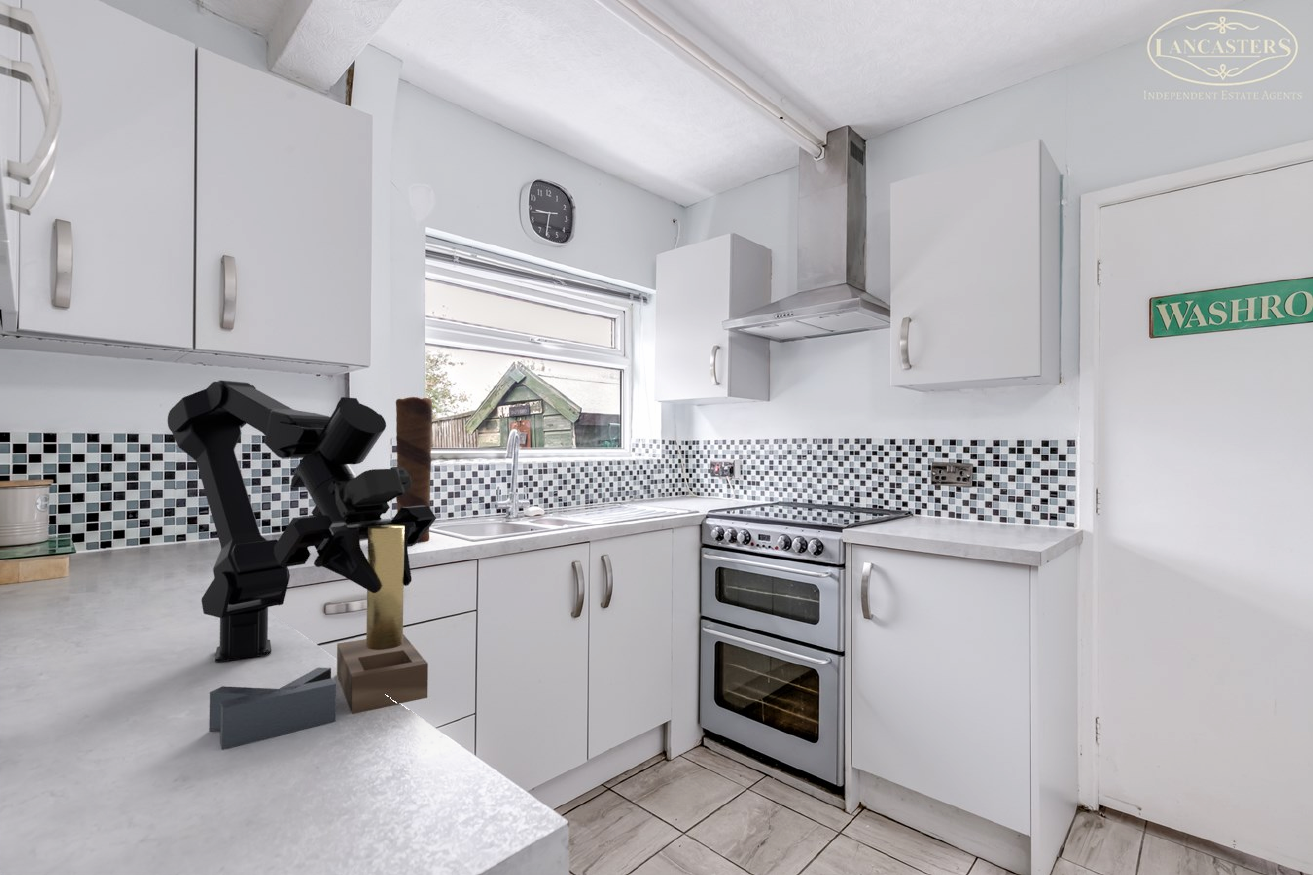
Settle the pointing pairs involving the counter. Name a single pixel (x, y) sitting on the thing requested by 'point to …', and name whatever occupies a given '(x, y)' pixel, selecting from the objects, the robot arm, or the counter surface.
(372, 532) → the brass axle
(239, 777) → the counter surface
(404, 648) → the wooden socket block
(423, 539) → the wafer roll
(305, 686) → the steel V-block
